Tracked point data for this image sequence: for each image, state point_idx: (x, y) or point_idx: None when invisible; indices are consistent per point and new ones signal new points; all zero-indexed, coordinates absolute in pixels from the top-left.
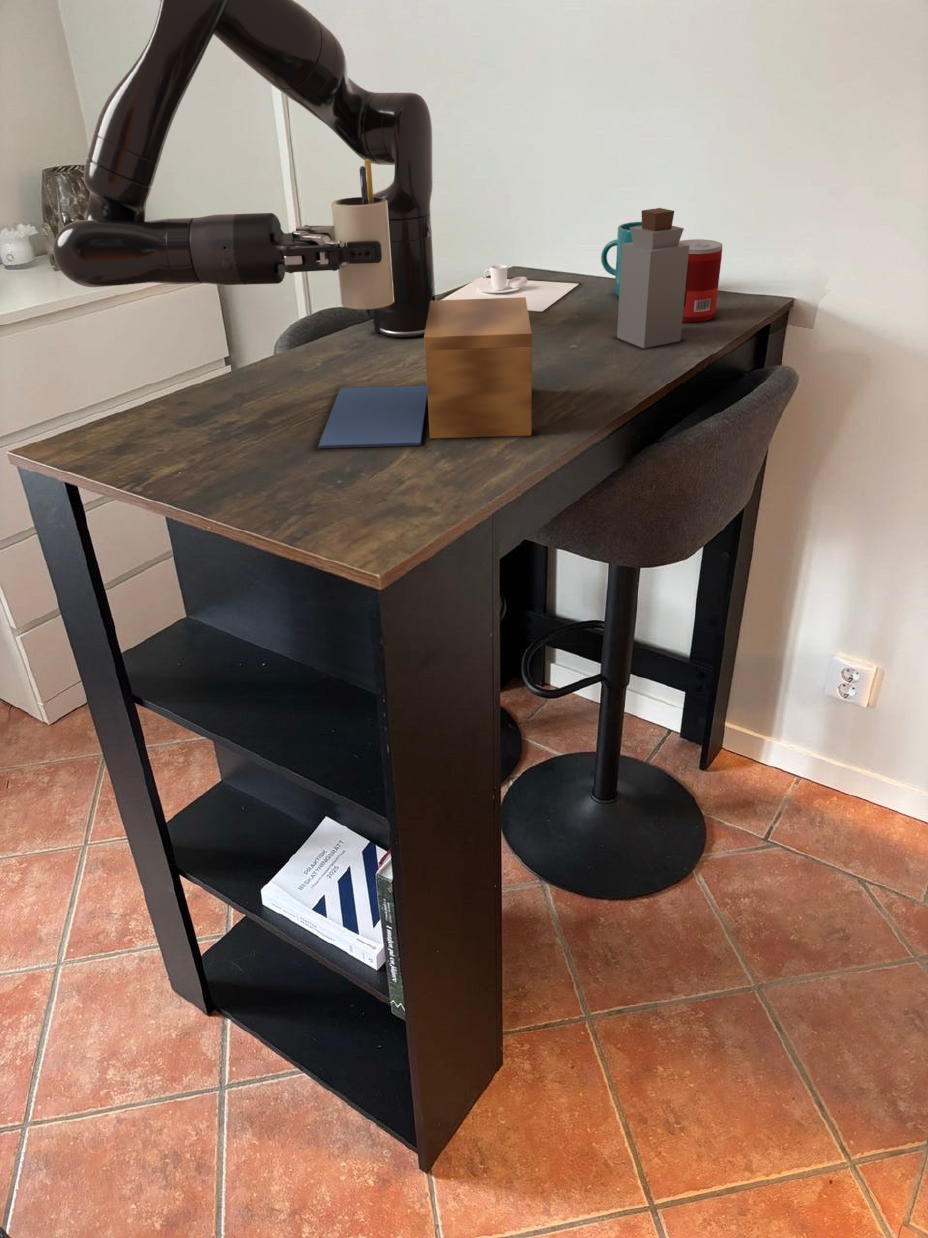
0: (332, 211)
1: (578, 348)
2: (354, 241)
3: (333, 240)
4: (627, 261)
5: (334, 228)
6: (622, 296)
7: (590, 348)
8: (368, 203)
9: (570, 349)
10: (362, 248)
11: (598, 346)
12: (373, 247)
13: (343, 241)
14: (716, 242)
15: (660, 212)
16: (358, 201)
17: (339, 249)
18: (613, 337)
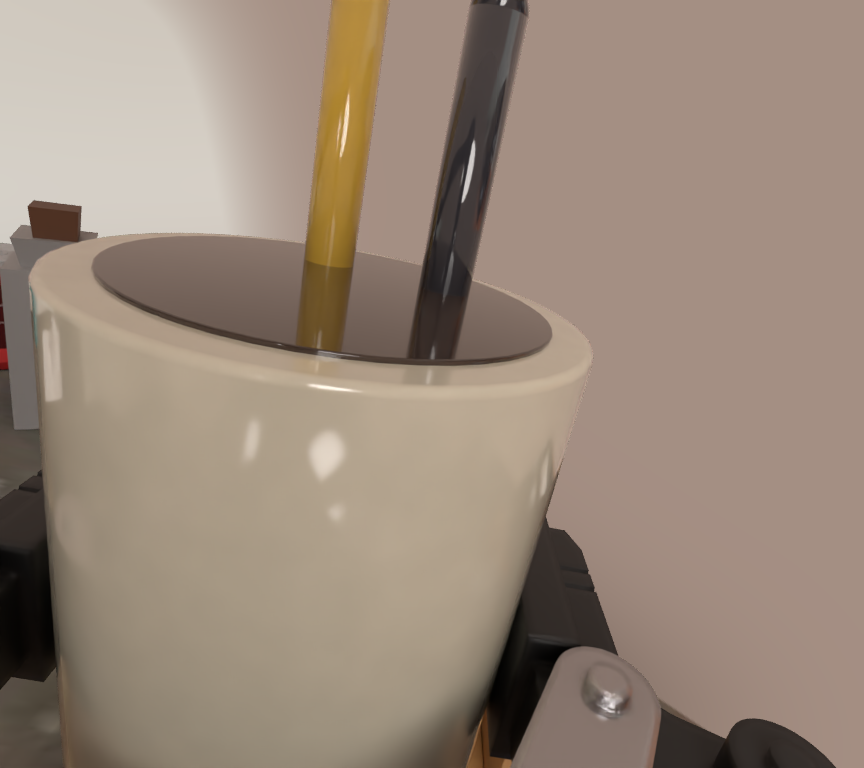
0: (373, 486)
1: (17, 480)
2: (523, 594)
3: (521, 751)
4: (27, 298)
5: (363, 650)
6: (20, 360)
7: (36, 468)
8: (502, 296)
9: (9, 490)
10: (591, 589)
11: (37, 458)
12: (566, 539)
13: (574, 662)
14: (8, 245)
15: (76, 210)
16: (380, 292)
17: (703, 736)
18: (7, 432)
